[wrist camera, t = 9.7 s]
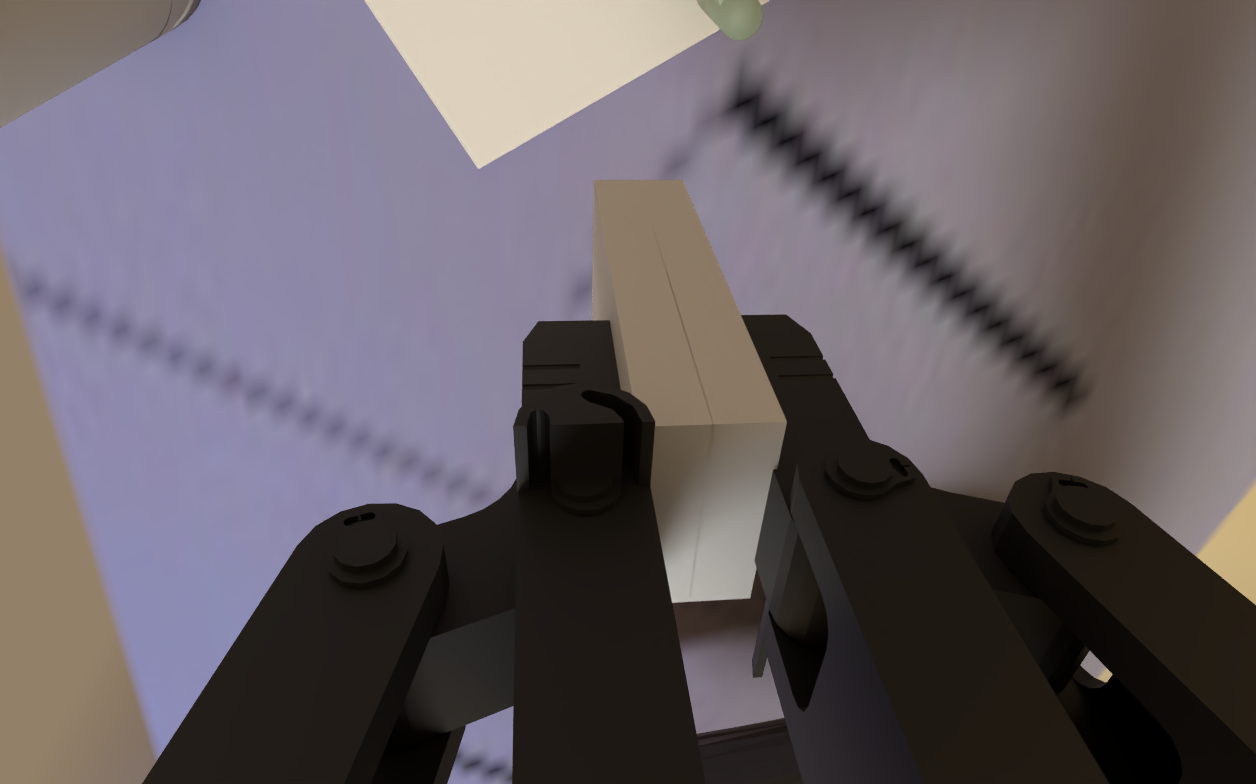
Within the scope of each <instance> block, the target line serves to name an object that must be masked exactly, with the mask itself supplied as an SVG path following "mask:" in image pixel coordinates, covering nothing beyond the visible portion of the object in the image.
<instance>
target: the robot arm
mask: <svg viewBox="0 0 1256 784" xmlns="http://www.w3.org/2000/svg"><path fill="white" fill-rule="evenodd" d="M513 431H514V447H515V463H516V480H515V482H514V483H513V485H512V487H511V488H510V489H509V490H508V491H507V492H506V493H505V494H504V495H503V496H502V497H501V498H500V499H499V500H497V501H496V502H494V503H493V504H491V505H489V506H488V507H486V508H485V509H483V510H480V511H478V512H475V513H473V514H470V515H468V516H465V517H462V518H459V519H455V520H452V521H449V522H445V523H442V524H438V525H436V524H435V523H434V522H433V521H432V520H431V519H429V518H428V517H427V516H426V515H424V514H423V513H422V512H421V511H420V510H416V509H413V508H410V507H406V506H403V505H399V504H396V503H395V504H366V505H363V506H359V507H355V508H352V509H348V510H345V511H341V512H339V513H337V514H336V515H334V516H332V517H330V518H329V519H327V520H325V521H324V522H322V523H320V524H318V525H317V526H315V527H314V528H313V529H312V530H311V532H310V533H309V534H308V535H307V536H306V537H305V538H304V539H303V540H302V541H301V542H300V543H299V544H298V545H297V547H296V548H295V550H294V551H293V553H292V554H291V556H290V557H289V559H288V561H287V562H286V564H285V565H284V567H283V568H282V570H281V571H280V573H279V574H278V576H277V577H276V579H275V581H274V582H273V584H272V585H271V587H270V588H269V590H268V591H267V593H266V594H265V596H264V597H263V599H262V600H261V602H260V604H259V605H258V607H257V608H256V610H255V611H254V613H253V614H252V616H251V617H250V619H249V620H248V622H247V623H246V625H245V627H244V628H243V630H242V631H241V633H240V634H239V636H238V637H237V639H236V640H235V642H234V643H233V645H232V647H231V648H230V650H229V651H228V653H227V654H226V656H225V657H224V659H223V660H222V662H221V663H220V665H219V666H218V668H217V670H216V671H215V673H214V674H213V676H212V677H211V679H210V680H209V682H208V683H207V685H206V686H205V688H204V689H203V691H202V693H201V694H200V696H199V697H198V699H197V700H196V702H195V703H194V705H193V706H192V708H191V709H190V711H189V713H188V714H187V716H186V717H185V719H184V720H183V722H182V723H181V725H180V726H179V728H178V729H177V731H176V732H175V734H174V736H173V737H172V739H171V740H170V742H169V743H168V745H167V746H166V748H165V749H164V751H163V752H162V754H161V755H160V757H159V759H158V760H157V762H156V763H155V765H154V766H153V768H152V769H151V771H150V772H149V774H148V775H147V777H146V779H145V780H144V782H143V783H142V784H447V783H448V780H449V776H450V773H451V770H452V767H453V764H454V761H455V758H456V755H457V752H458V749H459V746H460V743H461V740H462V737H463V734H464V731H465V727H466V725H467V724H469V723H472V722H474V721H477V720H479V719H482V718H484V717H487V716H489V715H492V714H494V713H497V712H499V711H502V710H504V709H507V708H509V707H512V706H514V716H513V775H512V784H1256V605H1255V604H1253V603H1252V602H1251V601H1250V600H1249V599H1247V598H1246V597H1245V596H1244V595H1242V594H1241V593H1240V592H1239V591H1237V590H1236V589H1235V588H1234V587H1232V586H1231V585H1230V584H1229V583H1228V582H1227V581H1225V580H1224V579H1222V577H1220V576H1219V575H1218V574H1217V573H1215V572H1214V571H1213V570H1212V569H1211V568H1209V567H1208V566H1207V565H1206V564H1204V563H1203V562H1202V561H1201V560H1200V559H1198V558H1197V557H1196V556H1195V555H1193V554H1192V553H1191V552H1190V551H1189V550H1187V549H1186V548H1185V547H1184V546H1182V545H1181V544H1180V543H1179V542H1178V541H1176V540H1175V539H1174V538H1173V537H1171V536H1170V535H1169V534H1168V533H1166V532H1165V531H1164V530H1163V529H1162V528H1160V527H1159V526H1158V525H1157V524H1155V523H1154V522H1153V521H1152V520H1151V519H1149V518H1148V517H1147V516H1146V515H1144V514H1143V513H1142V512H1141V511H1140V510H1138V509H1137V508H1136V507H1135V506H1133V505H1132V504H1131V503H1129V502H1128V501H1126V500H1125V499H1123V498H1122V497H1120V496H1119V495H1117V494H1116V493H1114V492H1113V491H1111V490H1109V489H1108V488H1106V487H1104V486H1101V485H1099V484H1096V483H1094V482H1091V481H1089V480H1086V479H1084V478H1081V477H1078V476H1072V475H1067V474H1062V473H1056V472H1047V473H1033V474H1029V475H1027V476H1025V477H1023V478H1021V479H1019V480H1017V481H1016V482H1015V483H1014V485H1013V487H1012V489H1011V491H1010V493H1009V495H1008V498H1007V500H1006V502H1005V503H1002V502H997V501H992V500H987V499H981V498H976V497H971V496H966V495H960V494H955V493H950V492H946V491H942V490H939V489H935V488H931V487H930V486H929V484H928V482H927V481H926V479H925V477H924V476H923V474H922V473H921V472H920V471H919V470H918V469H917V468H916V466H915V465H914V464H913V463H912V462H911V461H910V460H909V459H908V458H907V457H905V456H904V455H902V454H900V453H899V452H897V451H895V450H894V449H892V448H891V447H889V446H887V445H884V444H881V443H878V442H875V441H872V440H870V439H869V438H868V436H867V434H866V432H865V430H864V429H863V427H862V425H861V423H860V421H859V420H858V418H857V416H856V414H855V412H854V411H853V409H852V407H851V405H850V403H849V402H848V400H847V398H846V396H845V394H844V393H843V391H842V389H841V387H840V385H839V384H838V382H837V380H836V378H833V373H832V371H831V369H830V367H829V366H828V364H827V362H826V360H823V355H822V353H821V351H820V349H819V348H818V346H817V344H816V342H815V340H814V339H813V337H812V335H811V333H809V332H808V331H807V330H805V329H804V328H803V327H802V326H800V325H799V324H798V323H796V322H795V321H794V320H792V319H791V318H790V317H788V316H787V315H741V314H740V312H739V310H738V308H737V305H736V303H735V301H734V298H733V296H732V294H731V291H730V289H729V287H728V284H727V282H726V280H725V277H724V275H723V273H722V271H721V268H720V266H719V264H718V261H717V259H716V257H715V254H714V252H713V250H712V247H711V245H710V243H709V241H708V238H707V236H706V234H705V231H704V229H703V227H702V224H701V222H700V220H699V217H698V215H697V213H696V210H695V208H694V206H693V204H692V201H691V199H690V197H689V194H688V192H687V190H686V187H685V185H684V183H683V180H594V212H593V282H592V321H538V323H537V324H536V325H535V327H534V328H533V329H532V331H531V332H530V333H529V335H528V336H527V337H526V339H525V340H524V341H523V371H522V407H521V408H520V409H519V411H518V414H517V417H516V420H515V423H514V426H513ZM756 568H757V571H758V574H759V578H760V581H761V584H762V587H763V591H764V594H765V597H766V602H765V606H764V611H763V615H762V620H761V624H760V628H759V633H758V637H757V641H756V646H755V650H754V655H753V659H752V668H753V678H754V677H762V675H763V671H764V667H765V663H766V659H767V657H768V661H769V664H770V668H771V671H772V675H773V678H774V682H775V686H776V689H777V693H778V696H779V700H780V703H781V707H782V710H783V714H784V717H785V718H781V719H776V720H771V721H766V722H760V723H755V724H750V725H745V726H740V727H734V728H728V729H722V730H717V731H711V732H705V733H699V734H696V729H695V723H694V718H693V713H692V707H691V702H690V697H689V691H688V686H687V680H686V675H685V670H684V664H683V659H682V654H681V648H680V643H679V637H678V632H677V627H676V621H675V616H674V610H673V605H672V603H677V602H695V601H712V600H729V599H747V598H750V597H751V592H752V587H753V582H754V577H755V573H756ZM1089 651H1091V652H1092V653H1093V654H1094V655H1095V656H1096V657H1097V658H1098V659H1099V660H1100V661H1101V662H1102V663H1103V664H1104V665H1105V667H1106V668H1107V669H1108V670H1109V671H1110V672H1112V674H1113V675H1112V676H1111V678H1110V679H1109V680H1108V682H1106V683H1105V682H1103V681H1101V680H1098V679H1096V678H1094V677H1093V676H1091V675H1090V674H1089V673H1088V672H1087V671H1086V670H1084V669H1083V668H1082V667H1081V666H1080V664H1081V663H1082V661H1083V660H1084V658H1085V657H1086V655H1087V654H1088V652H1089Z"/></svg>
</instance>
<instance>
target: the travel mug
mask: <svg viewBox="0 0 1256 784" xmlns="http://www.w3.org/2000/svg"><path fill="white" fill-rule="evenodd" d="M199 1H200V0H0V128H1V127H2V126H4V125H6V124H8V123H9V122H11V121H13V120H15V119H16V118H18V117H20V116H22V115H23V114H25V113H27V112H29V111H30V110H32V109H34V108H36V107H37V106H39V105H41V104H43V103H44V102H46V101H48V100H50V99H52V98H53V97H55V96H57V95H59V94H60V93H62V92H64V91H66V90H67V89H69V88H71V87H73V86H74V85H76V84H78V83H80V82H81V81H83V80H85V79H87V78H88V77H90V76H92V75H94V74H96V73H97V72H99V71H101V70H103V69H104V68H106V67H108V66H110V65H111V64H113V63H115V62H117V61H118V60H120V59H122V58H124V57H125V56H127V55H129V54H131V53H132V52H134V51H136V50H138V49H139V48H141V47H143V46H145V45H147V44H148V43H150V42H152V41H154V40H155V39H157V38H159V37H161V36H162V35H164V34H166V33H168V32H169V31H171V30H173V29H175V28H176V27H178V26H179V25H181V24H182V23H183V22H185V21H186V20H187V19H188V18H189V17H190V16H191V15H192V13H193V12H194V11H195V10H196V8H197V6H198V4H199Z"/></svg>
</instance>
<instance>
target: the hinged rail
mask: <svg viewBox="0 0 1256 784" xmlns="http://www.w3.org/2000/svg"><path fill="white" fill-rule="evenodd" d="M697 2H698V4H699V6H700V8H701V9H702V10H703V11H704V12H705V13H706V14H707V15H708V16H709V17H710V19H711V20H712V21H713V22H714V23H715V24H716V25H717V26H718V27H719V28H720V29H721V30H722V31H723V32H724V34H725V35H726V36H728V37H729V38H731V39H733V40H738V41H740V40H745V39H748V38H750V37H751V36H753V35H754V34H755V33H756V32H757V30H758V29H759V27H760V25H761V22H762V17H763V11H762V7H761V4H760V2H759V1H758V0H697Z"/></svg>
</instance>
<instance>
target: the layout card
mask: <svg viewBox="0 0 1256 784" xmlns="http://www.w3.org/2000/svg"><path fill="white" fill-rule="evenodd" d="M758 1H759V2H760V4H761V5H763V4H765V3H767V2H768V1H770V0H758ZM365 2H366V3H367V5H368V6H369V8H370V9H371V11H372V12H373V14H374V15H375V17H376V18H377V20H378V21H379V23H380V24H381V26H382V27H383V29H384V30H385V31H386V33H387V34H388V36H389V37H390V39H391V40H392V42H393V43H394V45H395V46H396V48H397V49H398V51H399V52H400V54H401V55H402V57H403V58H404V60H405V61H406V63H407V64H408V66H409V67H410V68H411V70H412V71H413V73H414V74H415V76H416V77H417V79H418V80H419V82H420V83H421V85H422V86H423V88H424V89H425V91H426V92H427V94H428V95H429V97H430V98H431V100H432V101H433V102H434V104H435V105H436V107H437V108H438V110H439V111H440V113H441V114H442V116H443V117H444V119H445V120H446V122H447V123H448V125H449V126H450V128H451V129H452V131H453V132H454V134H455V135H456V137H457V138H458V139H459V141H460V142H461V144H462V145H463V147H464V148H465V150H466V151H467V153H468V154H469V156H470V157H471V159H472V160H473V162H474V163H475V165H476V166H477V168H478V169H480V168H481V167H483V166H485V165H487V164H488V163H490V162H492V161H493V160H495V159H497V158H499V157H500V156H502V155H504V154H506V153H507V152H509V151H511V150H512V149H514V148H516V147H518V146H519V145H521V144H523V143H525V142H526V141H528V140H530V139H531V138H533V137H535V136H537V135H538V134H540V133H542V132H544V131H545V130H547V129H549V128H550V127H552V126H554V125H556V124H557V123H559V122H561V121H563V120H564V119H566V118H568V117H569V116H571V115H573V114H575V113H576V112H578V111H580V110H582V109H583V108H585V107H587V106H588V105H590V104H592V103H594V102H595V101H597V100H599V99H601V98H602V97H604V96H606V95H608V94H609V93H611V92H613V91H614V90H616V89H618V88H620V87H621V86H623V85H625V84H627V83H628V82H630V81H632V80H633V79H635V78H637V77H639V76H640V75H642V74H644V73H646V72H647V71H649V70H651V69H652V68H654V67H656V66H658V65H659V64H661V63H663V62H665V61H666V60H668V59H670V58H671V57H673V56H675V55H677V54H678V53H680V52H682V51H684V50H685V49H687V48H689V47H690V46H692V45H694V44H696V43H697V42H699V41H701V40H703V39H704V38H706V37H708V36H709V35H711V34H713V33H715V32H716V31H718V30H720V28H719V27H718V26H717V25H716V24H715V23H714V22H713V21H712V20H711V19H710V17H709V16H708V15H707V14H706V13H705V12H704V11H703V10H702V9H701V8H700V6H699V4H698V2H697V0H365Z"/></svg>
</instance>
